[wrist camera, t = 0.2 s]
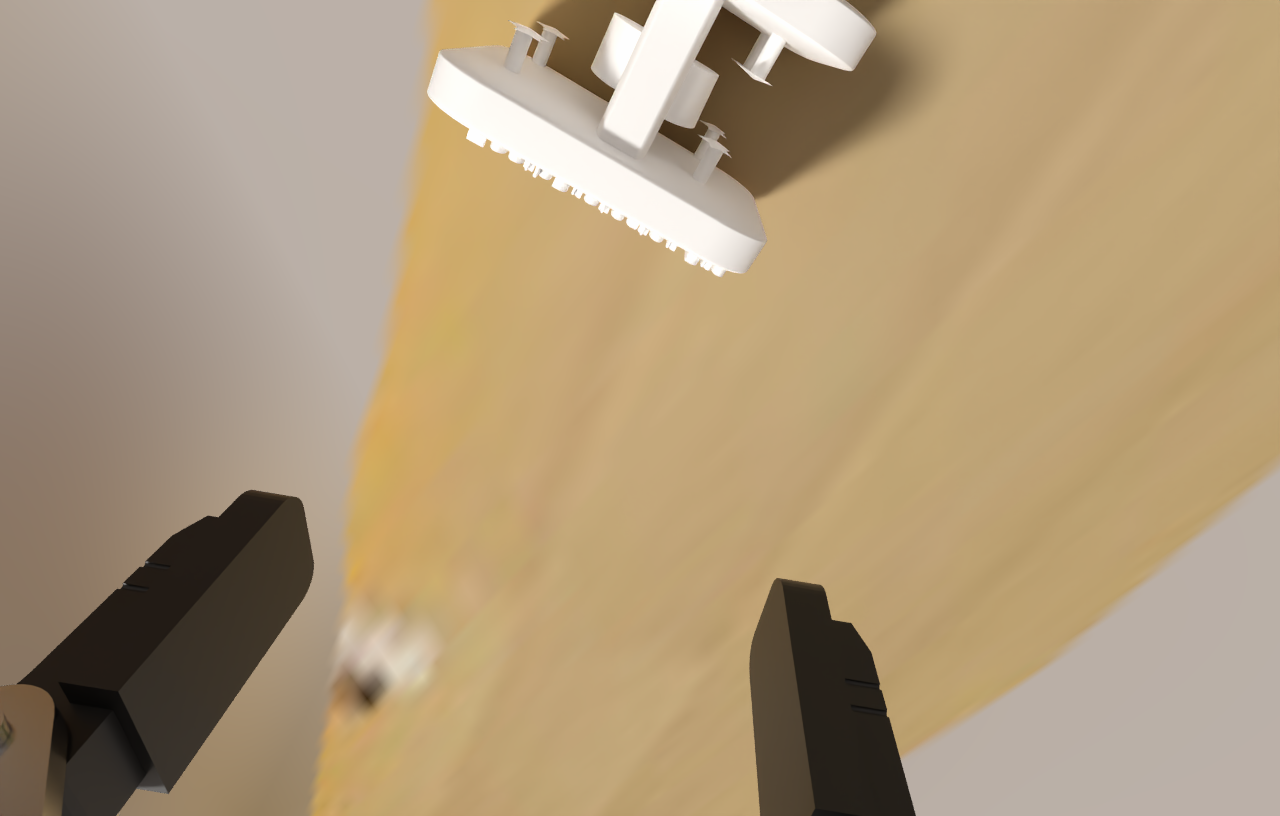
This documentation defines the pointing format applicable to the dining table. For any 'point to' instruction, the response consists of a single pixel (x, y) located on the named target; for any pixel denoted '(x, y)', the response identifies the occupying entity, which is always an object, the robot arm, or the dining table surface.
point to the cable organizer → (642, 114)
